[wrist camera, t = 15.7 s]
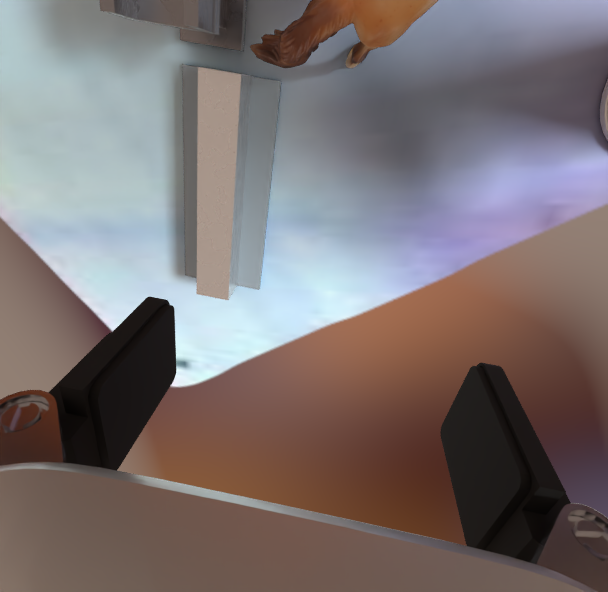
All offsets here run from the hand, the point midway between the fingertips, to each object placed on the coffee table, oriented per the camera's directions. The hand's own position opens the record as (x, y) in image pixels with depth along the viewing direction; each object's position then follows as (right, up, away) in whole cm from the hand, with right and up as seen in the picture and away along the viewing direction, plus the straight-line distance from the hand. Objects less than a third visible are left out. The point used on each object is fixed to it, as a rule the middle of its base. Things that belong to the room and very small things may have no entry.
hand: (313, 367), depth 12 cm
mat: (-9, +15, +32) cm, 36 cm away
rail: (-9, +14, +31) cm, 35 cm away
